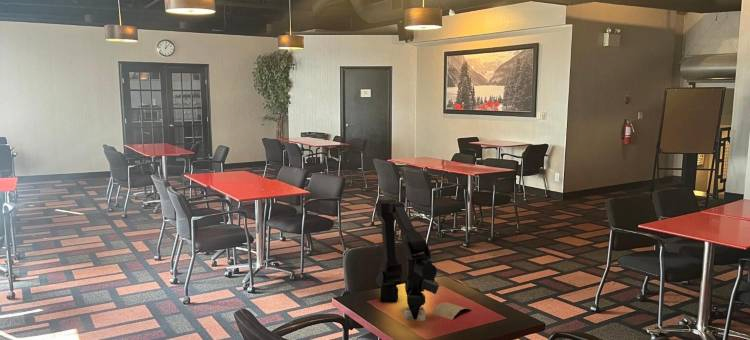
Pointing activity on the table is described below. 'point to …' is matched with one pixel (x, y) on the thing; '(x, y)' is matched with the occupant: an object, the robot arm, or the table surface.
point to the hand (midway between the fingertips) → (414, 314)
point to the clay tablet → (447, 310)
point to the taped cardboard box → (409, 316)
